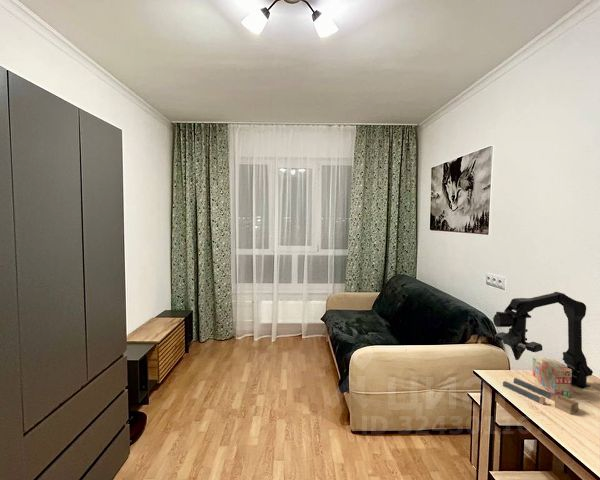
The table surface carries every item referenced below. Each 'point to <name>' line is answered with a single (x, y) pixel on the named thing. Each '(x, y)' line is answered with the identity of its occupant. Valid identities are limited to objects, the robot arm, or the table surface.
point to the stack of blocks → (553, 375)
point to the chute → (532, 388)
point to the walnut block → (566, 405)
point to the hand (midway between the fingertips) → (517, 359)
